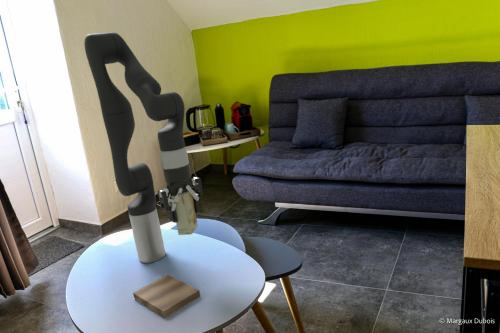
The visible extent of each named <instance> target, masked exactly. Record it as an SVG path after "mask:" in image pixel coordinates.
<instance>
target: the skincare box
mask: <svg viewBox="0 0 500 333" xmlns="http://www.w3.org/2000/svg"><path fill="white" fill-rule="evenodd" d="M171 198H172V200H174V199H175V196H171ZM178 198H179V201H178V203H177V204H176V207H175V210H176V214H177V219H178V222H176V223H175V225H176V228H177V235H178V236H187V235H188V236H189V235H193V234H194V232H195V231H196V230H197V228H198V226H199V225H198V219H197V213H195V207H194V202H193V197H192V196H191V194H190V193H189V192H185V193H182V194H181V195H179V196H178Z"/></svg>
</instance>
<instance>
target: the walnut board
mask: <svg viewBox="0 0 500 333" xmlns="http://www.w3.org/2000/svg"><path fill="white" fill-rule="evenodd" d="M132 295H133V298H135V299H134V300H135V301H137V300H138V303H140V302H141V304H144V306H145V307H146V308H148V309H149V310H152V311H153V312H155V313H156V314H158V315H159V316H161V317H162V318H164V319H166V318H167V317H169V316H171V315H172V314H174V313H175V312H177V311H179V310H180V309H182V308H184V307H185V306H187V305H189V304H190V303H192V302H194V301H195V300H197V299H199V298H201V292H200V289H198V288H196V287H193V286H191V285H190V284H188V283H186V282H183V281H182V280H180V279H178V278H176V277H173V276H172V275H169V274H166V275H164V276H161V277H160V278H158V279H156V280H154V281H152V282H151V283H148V284H147V285H144V286H143V287H141V288H139V289H137V290H136V291H133V293H132Z"/></svg>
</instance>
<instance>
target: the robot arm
mask: <svg viewBox="0 0 500 333" xmlns="http://www.w3.org/2000/svg"><path fill="white" fill-rule="evenodd" d="M83 43H84V52H85V56H86V59H87V62H88V65H89V68H90V71H91V76H92V77H93V81H94V84H95V88H96V90H97V96H98V99H99V104H100V110H101V115H102V119H103V123H104V126H105V131H106V135H107V140H108V142H109V147H110V153H111V158H112V166H113V172H114V179H115V182H116V186H117V189H118V191H119V192H120V195H122V196H124V197H130V196H133V195H135V194H137V195H136V197H135V198H134V199H133V200H132V201H131V202H130V203H129V204H128V205H127V212H128V217H129V221H130V225H131V228H132V229H131V230H132V235H133V236H132V237H133V239H134V243H135V247H136V252H137V258H138V260H139V262H140V263H146V264H148V263H153V262H154V263H155V262H157V261H159V260H162V259H163V258H164V257H165V256H166V250H165V243H164V239H163V235H162V229H161V223H160V219H159V215H158V210H157V203H156V202H157V199H156V191H155V186H154V180H153V179H154V178H153V174H152V172H151V169H150V168H149V166H148V164H146V163H144V162H139V163H134V164H132V165H129V162H128V153H129V152H128V151H129V147H130V144H131V141H132V138H133V136H134V132H135V128H136V122H135V116H134V111H133V108H132V105H131V102H130V101H129V100H128V98H127V97H126V96H125V94H124V93H122V91H120V89H119V88H118V87H117V86H116V85H115V84H114V82H113V81H112V79H111V77H110V75H109V72H108V70H107V66H106V65H110V64H116V63H119V64H121V65H122V66H124V80H125V83H126V85H127V87H128V89H130V91H132V92H133V93H134V94H135V96H136V97H137V98H138V99H139V100H140V103H141V105H142V107H143V108H144V111H145V113H146V116H147V117H148V118H149V119H151V120H152V121H155V122H162V121H166V120H167V124H166V126H164V127H162V128H160V129H159V130H158V132H157V140H158V141H157V142H158V144H159V150H160V160H161V164H162V169H163V170H162V171H163V175H164V180H165V183H166V188H164V189H162V190H161V189H159V190H157V196H158V201H159V206H160V209H161V210H162V211H165V212H168V217H169V220H170V221H171V222H172V223H175V224H176V222H178V219H177V214H176V210H175V207H176V204H177V203H178V201H179V198H178V196H179V195H181V194H182V193H185V192H189V193H190V194H191V196H192V197H193V202H194V207H195V213H196V214H198V213H200V210H201V209H200V208H201V207H200V202H199V199H200V198H202V197H204V191H203V189H204V188H203V184H202V178H201V177H198V176H192V172H191V167H190V166H191V165H190V162H189V160H190V159H189V155H188V151H187V149H186V142H185V139H184V138H185V137H184V122H185V121H184V120H185V108H186V107H185V102H184V99H183V98H182V96H181V95H180V94H179V93H178V92H175V91H171V92H165V93H162V86H161V84H160V82H158V80H157V79H155V77H153V76H152V74H150V73H149V72H148V71H147V70H146V69H145V68H144V67H143V65H142V64H141V63H140V61H139V60H138V58H137V57H136V55H135V54H134V51H132V49H131V48H130V46H129V45H128V44H127V42H126V40H125V39H124V38H123V37H122V36H121V34H119V33H118V32H112V31H110V32H96V33H88V34H86V36H85V38H84V42H83ZM192 188H193V189H192ZM171 196H175V199H174V200H172V198H171Z"/></svg>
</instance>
